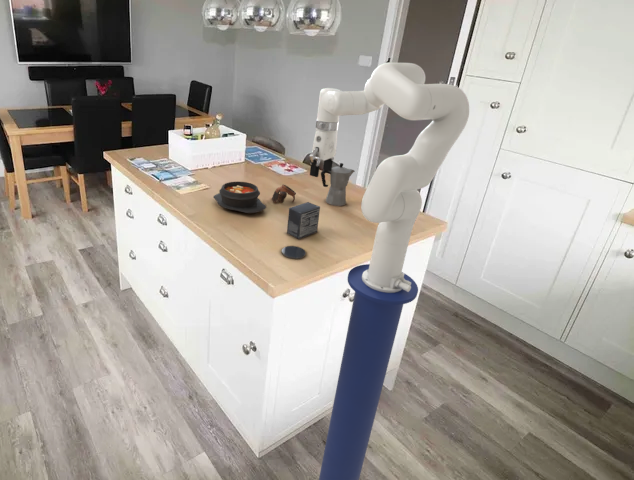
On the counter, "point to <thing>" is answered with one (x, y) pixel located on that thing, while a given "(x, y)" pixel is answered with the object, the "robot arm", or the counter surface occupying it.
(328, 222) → the counter surface
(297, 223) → the small box
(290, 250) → the slate coaster
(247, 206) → the casserole
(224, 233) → the counter surface
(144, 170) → the counter surface
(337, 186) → the coffeepot
